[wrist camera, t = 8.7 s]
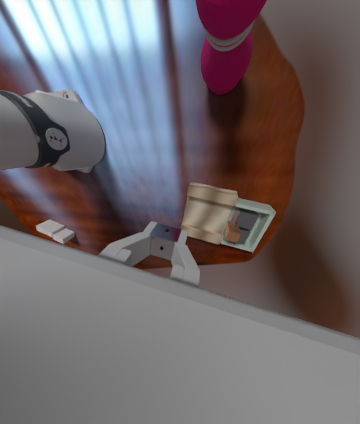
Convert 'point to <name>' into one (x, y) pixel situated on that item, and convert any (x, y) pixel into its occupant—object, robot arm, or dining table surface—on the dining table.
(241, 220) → the dark grey block
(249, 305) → the robot arm
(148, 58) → the dining table surface
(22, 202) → the dining table surface
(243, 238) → the chip
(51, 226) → the white stepped block
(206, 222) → the slot board
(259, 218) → the tray
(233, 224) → the block
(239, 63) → the pepper mill
